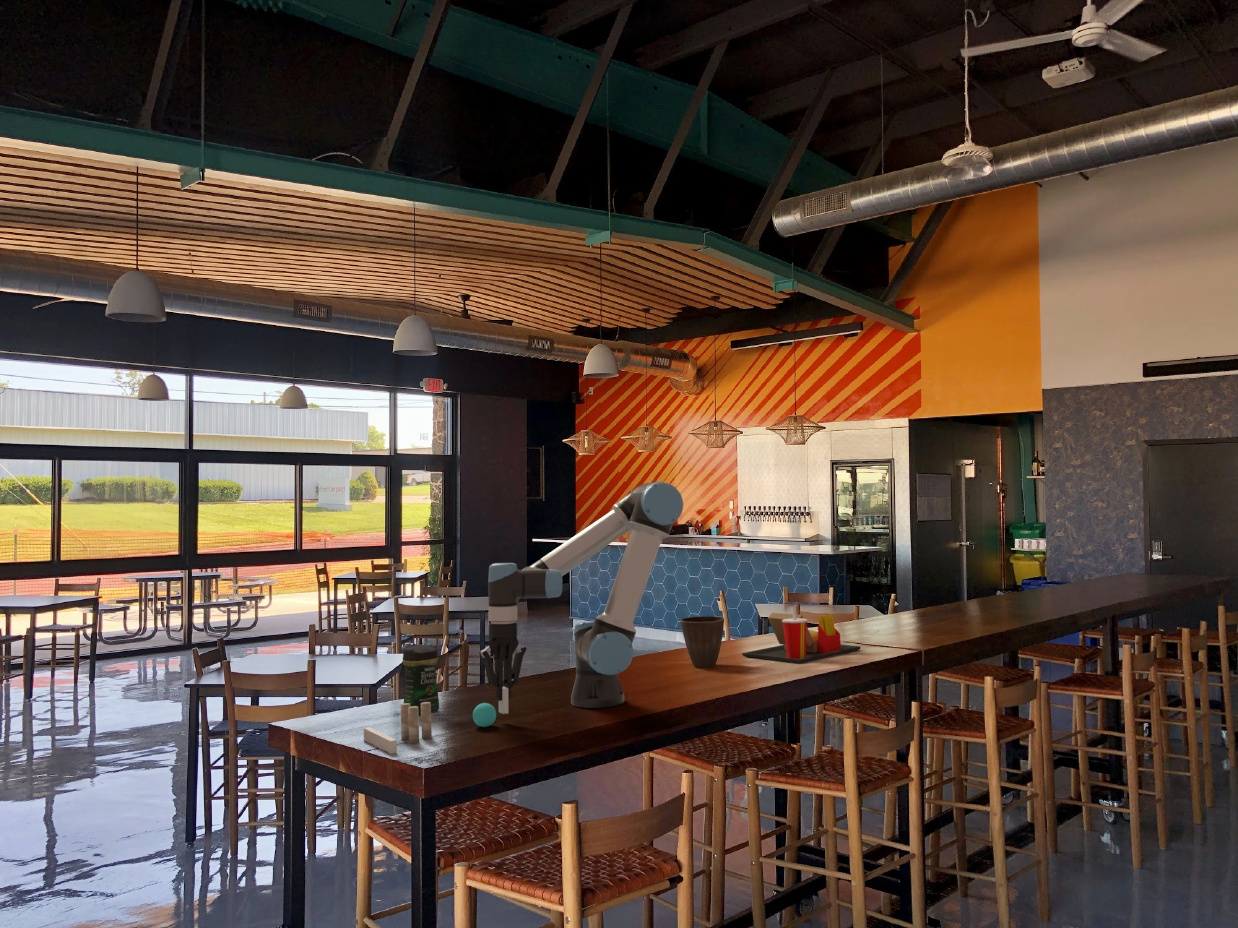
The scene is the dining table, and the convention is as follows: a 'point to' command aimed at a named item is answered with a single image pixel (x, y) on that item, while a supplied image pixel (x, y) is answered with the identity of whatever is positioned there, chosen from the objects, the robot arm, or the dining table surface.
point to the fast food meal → (802, 640)
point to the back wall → (380, 740)
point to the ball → (484, 715)
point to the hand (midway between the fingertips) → (503, 712)
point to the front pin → (426, 720)
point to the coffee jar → (421, 676)
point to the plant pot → (703, 639)
